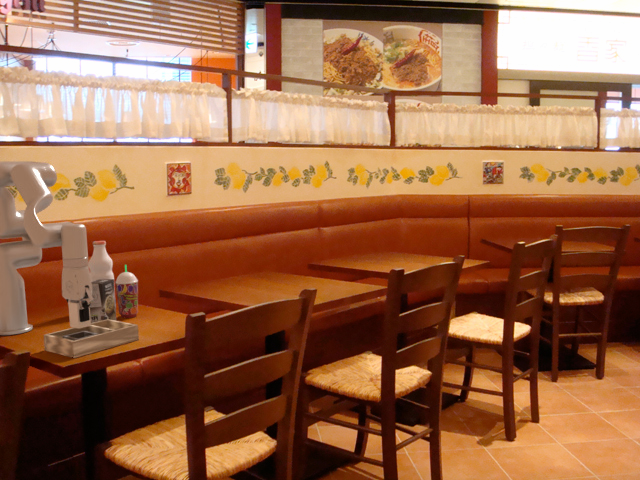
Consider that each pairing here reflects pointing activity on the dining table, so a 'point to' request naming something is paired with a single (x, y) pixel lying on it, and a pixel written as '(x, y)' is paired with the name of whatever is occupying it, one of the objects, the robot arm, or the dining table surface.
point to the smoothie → (127, 294)
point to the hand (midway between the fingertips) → (79, 319)
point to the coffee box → (103, 300)
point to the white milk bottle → (100, 263)
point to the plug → (76, 315)
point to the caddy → (90, 338)
